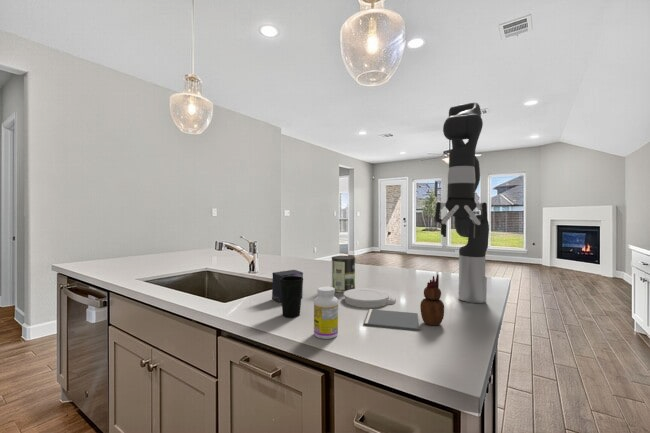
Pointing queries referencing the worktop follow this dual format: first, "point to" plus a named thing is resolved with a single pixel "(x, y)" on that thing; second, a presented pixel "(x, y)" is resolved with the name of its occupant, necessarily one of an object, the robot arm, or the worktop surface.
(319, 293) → the supplement bottle
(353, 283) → the coffee can
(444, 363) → the worktop surface
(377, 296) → the lid
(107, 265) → the worktop surface
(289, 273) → the small box
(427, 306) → the wooden figurine
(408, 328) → the book
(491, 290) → the worktop surface
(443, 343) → the worktop surface
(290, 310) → the cup
